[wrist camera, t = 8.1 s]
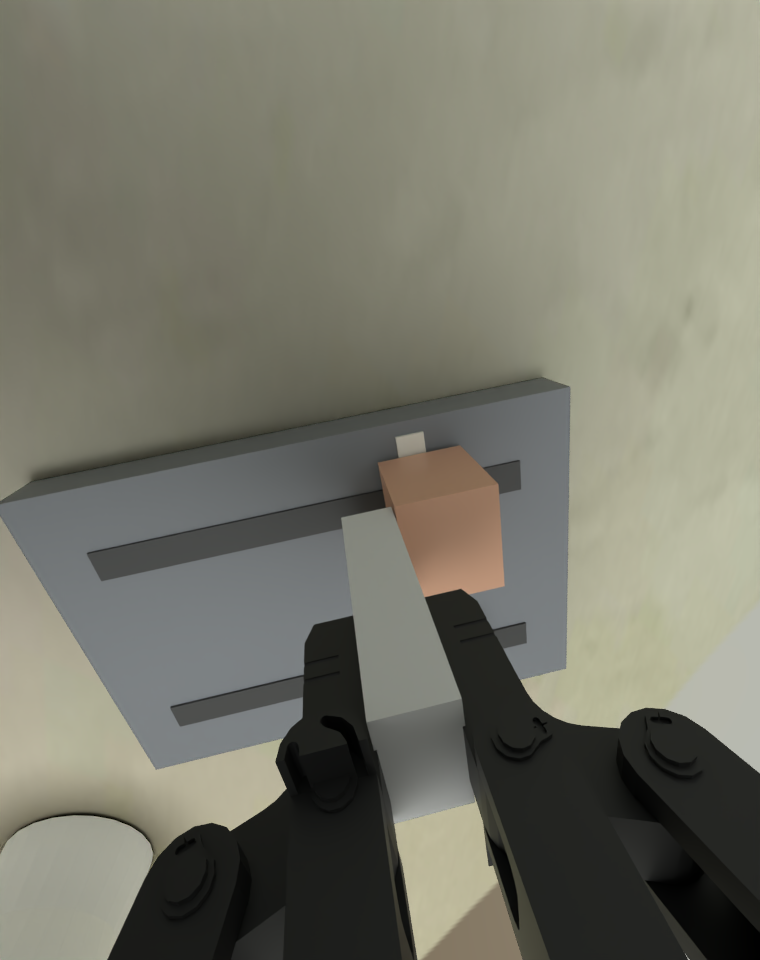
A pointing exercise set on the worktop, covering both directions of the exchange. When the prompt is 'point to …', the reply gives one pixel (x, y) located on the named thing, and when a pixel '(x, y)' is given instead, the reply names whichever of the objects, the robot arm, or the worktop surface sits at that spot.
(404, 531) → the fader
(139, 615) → the console
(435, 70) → the worktop surface
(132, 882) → the cup
